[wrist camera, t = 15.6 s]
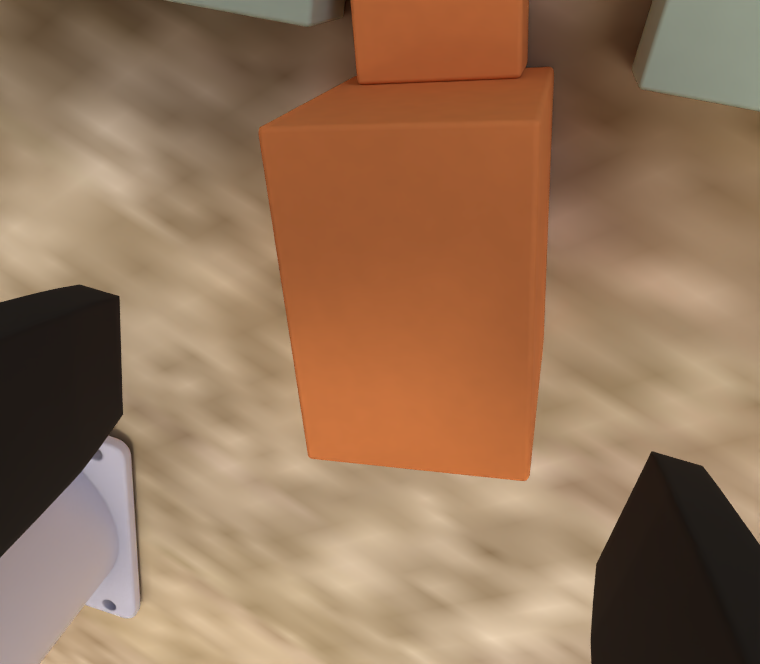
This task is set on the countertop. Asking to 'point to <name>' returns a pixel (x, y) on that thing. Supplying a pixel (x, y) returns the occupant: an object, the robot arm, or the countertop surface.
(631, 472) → the countertop surface
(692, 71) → the grey tile
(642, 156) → the countertop surface
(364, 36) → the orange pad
